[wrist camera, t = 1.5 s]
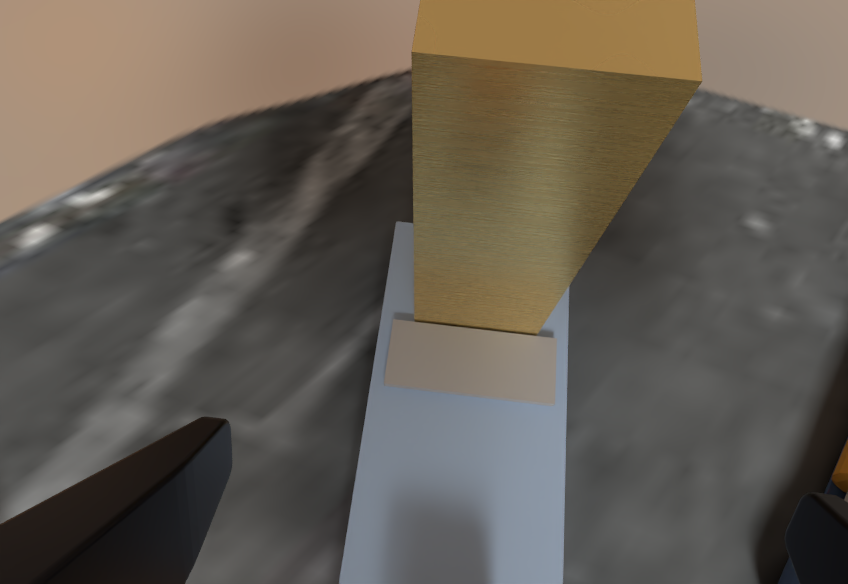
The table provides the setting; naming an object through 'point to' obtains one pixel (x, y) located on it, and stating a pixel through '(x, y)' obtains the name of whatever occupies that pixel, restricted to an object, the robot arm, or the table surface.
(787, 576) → the toy gun
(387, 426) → the plane body
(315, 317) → the table surface
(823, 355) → the table surface
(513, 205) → the tan tall block
